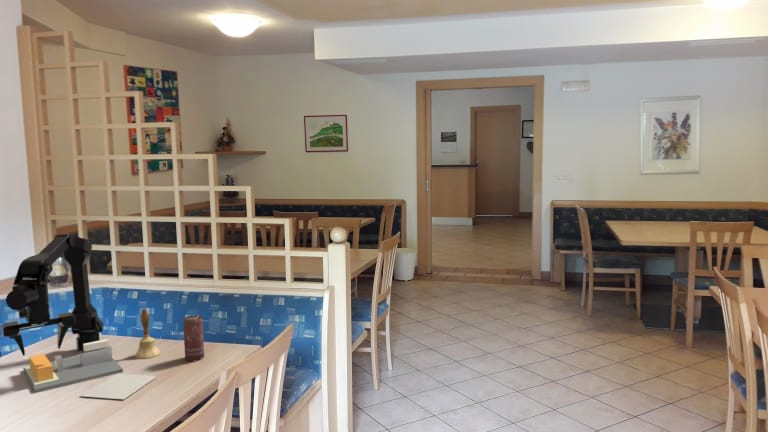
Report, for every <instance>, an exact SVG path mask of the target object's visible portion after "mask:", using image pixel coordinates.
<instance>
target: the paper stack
mask: <svg viewBox="0 0 768 432" xmlns="http://www.w3.org/2000/svg"><path fill="white" fill-rule="evenodd" d="M157 377H158V376H156V375H144V374H143V375H142V374H128V373H116V374H112V375H111V376H110V377H108V378H107V379H106V380H104V381H102V382H100V383H98V384H97V385H95V386H94V387H92V388H90V389H89V390H87V391H85V392H84V393H82V394H81V395H79V397H88V398H99V399H115V400H126V398H128V397H130V396H131V395H132V394H134V393H135V392H137V391H139V390H140V389H141V388H143V387H144V386H146V385H147V384H148V383H150V382H152V381H153V380H155V379H156V378H157Z"/></svg>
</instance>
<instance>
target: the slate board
mask: <svg viewBox="0 0 768 432" xmlns="http://www.w3.org/2000/svg"><path fill="white" fill-rule="evenodd" d="M62 360H63V371H61V372H57V371H56V369H55V360H54V361H50V363H51V364H52V367H53V371H54V373H55V374H56V375H57V377H58V378H59V380H58V381H54V382H50V383H45V384H41V385H37V386H34V384H33V382H32V380H31V379H30V377H29V375H28V373H27V371H26V370H25V367H26V366H25V367H23V368H22V369H23V372H24V375H25V376H26V379H27V380H28V382H29V384H30V386H31V387H32V390H33V392H34V393H41V392H44V391H49V390H53V389H57V388H61V387H65V386H70V385H75V384H77V383H78V384H79V383H83V382H87V381H89V380H90V381H91V380H94V379H98V378H103V377H107V376H113V375H115V374H122V373H123V372H124V368H123V367H122V366H120V364H119V363H118V362H117V361H115V359H114V358H113V357H112V360H110V361H106V362H102V363H97V364H93V365H88V366H84V367H83V366H82V365H81V364H80V355H77V356H72V357H67V358H62Z"/></svg>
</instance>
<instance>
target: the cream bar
mask: <svg viewBox="0 0 768 432" xmlns="http://www.w3.org/2000/svg"><path fill="white" fill-rule="evenodd" d="M108 345H109V340H108V339H107V338H106V339H101V340H100V341H95V342H90V343H85V344H83V350H84V351H90V350H95V349H99V348H104V347H108Z"/></svg>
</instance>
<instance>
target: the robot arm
mask: <svg viewBox="0 0 768 432" xmlns="http://www.w3.org/2000/svg"><path fill="white" fill-rule="evenodd" d="M92 245H93V244H92V243H91V241H90V240H89V239H87V238H83V237H79V236H76V235H75V234H72V233H58V234H56V235H54V239H52V240H51V241H50V242H49V243H48V244H47V245H46V246H45V247H44V248H43V249H41V251H40V252H39V253H37V254H35V255H31V256H27V258H24V259H23V260H22V261H21V262H20V264H19V266H18V269H17V271H16V275H15V278H14V281H13V286H12V289H11V290H10V291H9V292H8V293H7V296H6V297H5V303H6V305H7V307H8V308H10V309H11V310H13V311H18V312H17V313H18V318H19V319H25V321H26V322H24V323H18V321H17V320H14V321H10V322H3V323H2V324H1V325H0V331H1V334H2V336H3V337H4V338H5V337H6V338H7V337H8V339H11V340H12V339H14V341H15V343H16V344H17V346H18V347H19V351H20V352H21V355H22V356H25V355H26V350H25V346H24V343H23V338H22V334H21V333H20V331H23V330H25V331H26V330H30V329H36V328H40V327H47V326H52V325H57V340H56V341H57V342H56V343H57V349H59V350H60V349H61V346H62V343H63V341H64V338H65V336H66V334H67V332H68V331H69V329H70V330H71V331H72V335H77V337H76V338H75V342H76V350H78V352H79V351H82V350H83V344H85V343H90V342H95V341H100V333H103V331H104V328H105V327H104V322H103V321H102V320H101V319H100V317H98V311H97V309H96V308H95V307H94V306H93V304H92V303H91V293H90V283H89V271H88V262H89V260H90V258H91V257H92V249H93V246H92ZM62 254H63V258H64V260H65V261H66V262H67V264H68V265H69V266H70V271H71V272H70V273H71V282H72V290H73V291H72V292H73V300H74V301H73V303H74V308H73V310H72V311H71V312H64V313H59V314H57V317H53V318H51V315H50V314H51V313H50V311H51V310H50V301H49V300H50V299H49V288H48V284H50V283H51V281H52V280H51V279H49V278H48V277H49V276H50V275H51V273H52V271H54V270H53V265H54V263H55V262H56V261H57V260H58V259H59V258H60V257H61V256H62Z"/></svg>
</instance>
